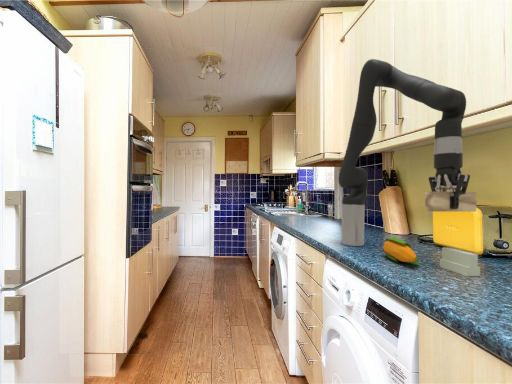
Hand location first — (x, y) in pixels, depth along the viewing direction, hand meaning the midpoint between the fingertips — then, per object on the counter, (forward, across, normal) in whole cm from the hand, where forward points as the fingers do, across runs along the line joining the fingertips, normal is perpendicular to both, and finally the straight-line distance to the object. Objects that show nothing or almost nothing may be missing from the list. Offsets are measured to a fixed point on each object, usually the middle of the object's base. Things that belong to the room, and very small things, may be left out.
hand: (447, 208), depth 92 cm
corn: (+18, -8, -10) cm, 22 cm away
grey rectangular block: (+18, +4, 0) cm, 19 cm away
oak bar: (+1, 0, +1) cm, 1 cm away
